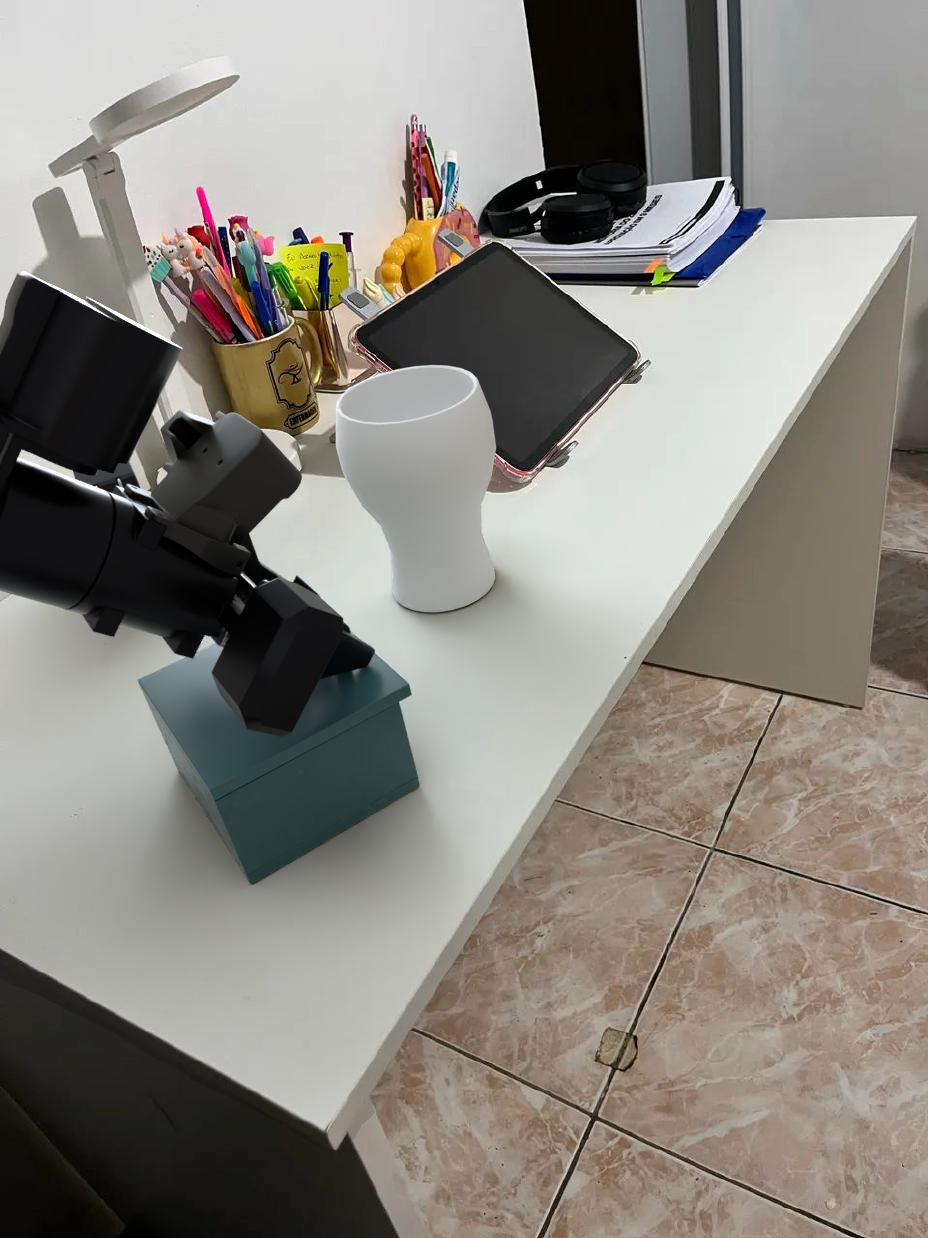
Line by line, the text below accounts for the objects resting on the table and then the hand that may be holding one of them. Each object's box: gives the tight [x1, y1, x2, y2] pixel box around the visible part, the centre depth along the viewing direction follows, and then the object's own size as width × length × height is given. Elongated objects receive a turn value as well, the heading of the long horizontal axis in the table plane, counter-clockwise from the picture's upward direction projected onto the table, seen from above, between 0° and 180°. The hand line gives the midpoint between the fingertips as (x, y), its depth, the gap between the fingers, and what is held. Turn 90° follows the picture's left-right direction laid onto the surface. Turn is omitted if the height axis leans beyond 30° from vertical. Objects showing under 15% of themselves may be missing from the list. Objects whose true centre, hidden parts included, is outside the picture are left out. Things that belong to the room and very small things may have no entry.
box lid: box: [137, 621, 413, 801], centre depth 51 cm, size 11×12×4 cm
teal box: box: [142, 692, 421, 885], centre depth 54 cm, size 11×12×6 cm
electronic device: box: [72, 462, 141, 493], centre depth 77 cm, size 4×10×10 cm, turn 26°
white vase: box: [335, 364, 497, 613], centre depth 66 cm, size 11×11×15 cm
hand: (348, 636), depth 54 cm, fingers closed on box lid, 5 cm apart
